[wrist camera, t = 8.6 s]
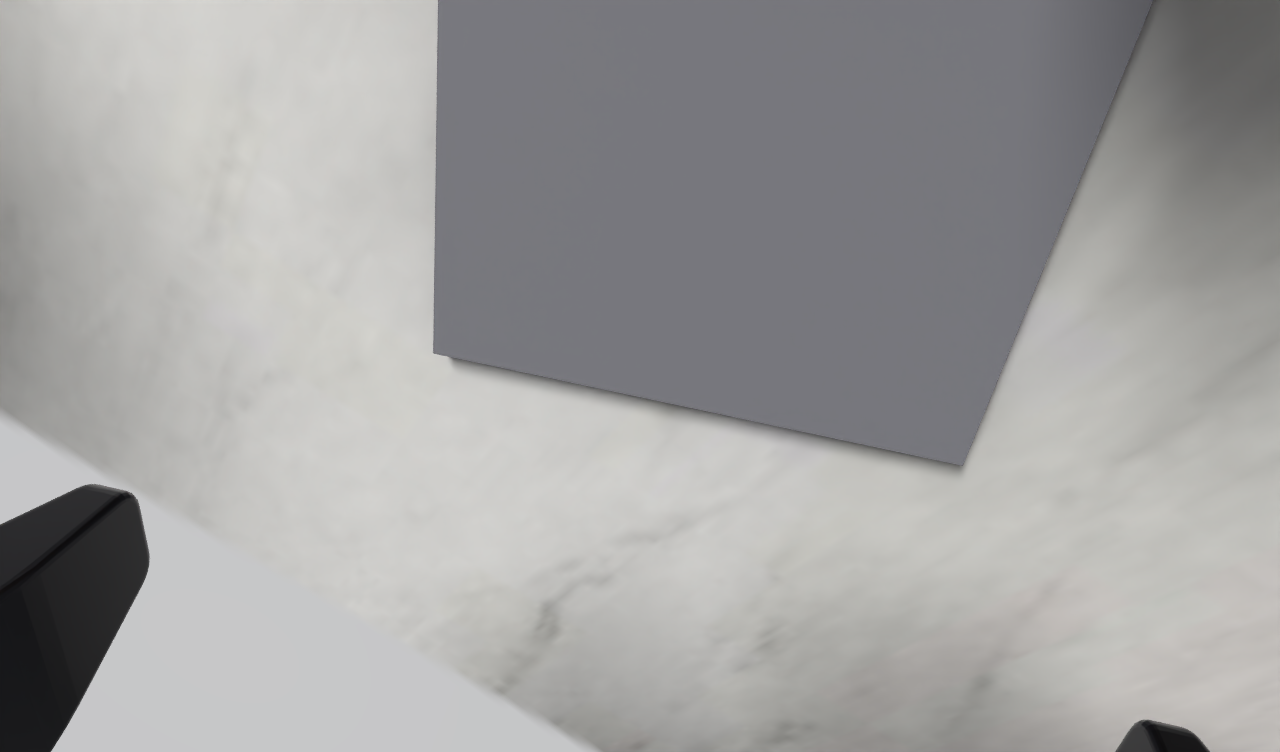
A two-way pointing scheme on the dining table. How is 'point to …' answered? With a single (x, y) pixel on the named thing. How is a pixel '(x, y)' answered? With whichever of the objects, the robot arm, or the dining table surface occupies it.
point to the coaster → (764, 197)
